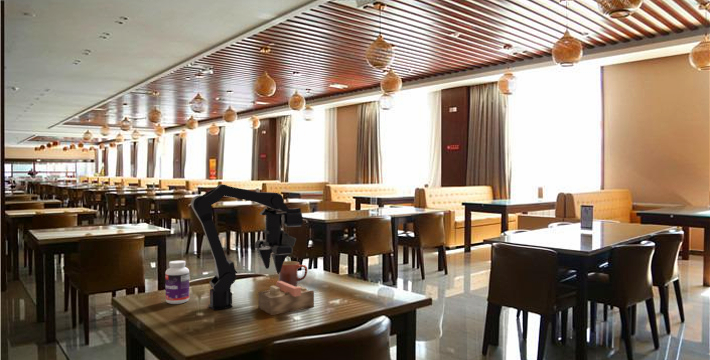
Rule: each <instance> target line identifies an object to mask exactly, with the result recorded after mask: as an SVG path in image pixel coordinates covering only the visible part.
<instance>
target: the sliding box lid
mask: <svg viewBox="0 0 710 360" xmlns="http://www.w3.org/2000/svg"><path fill="white" fill-rule="evenodd" d="M297 287H301V292H305V291H310V290H309V289H307V288H306V287H304V286H302V285H300V286H299V285H298V286H297ZM269 290H270V292H267V293H265V294H267V295H269V296H271V297H276V296H281V295H285V292H284V291H281V290H280V288H279V287H277V285H270V286H269Z"/></svg>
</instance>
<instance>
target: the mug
mask: <svg viewBox="0 0 710 360" xmlns="http://www.w3.org/2000/svg"><path fill="white" fill-rule="evenodd" d="M300 268H304V274H303V276H301V277H299V275H298V272H299V271H298V269H300ZM307 274H308V267H307V266H306V265H305V264H300V262H299V261H293V260H289V261H288V260H286V261H285V260H284V262H283V265H282V268H281V271H280V273H278V281H283V282H285V283H288V284H290V285H293V286H299V282H301V281H303V280H304V279H306V277H307Z"/></svg>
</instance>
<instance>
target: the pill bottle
mask: <svg viewBox="0 0 710 360" xmlns="http://www.w3.org/2000/svg"><path fill="white" fill-rule="evenodd" d="M168 266H169V268H167V269H166V270H165V274H164V275H165V277H164V278H165V302H166V303H168V304H171V305H179V304H183V303H186V302H188V301H189V300H190V269H189V268H188V267H186V260H170V261H169V262H168Z"/></svg>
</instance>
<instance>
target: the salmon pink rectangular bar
mask: <svg viewBox="0 0 710 360" xmlns="http://www.w3.org/2000/svg"><path fill="white" fill-rule="evenodd" d="M276 286H277V287H279V288H280V290H281V291H284V292H289V293H290V294H291V295H292V296H294V297H296V296H301V287H302V286H301V287H295V286H293V285H290V284H288V283H285V282H283V281H279V280H277V281H276Z"/></svg>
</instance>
